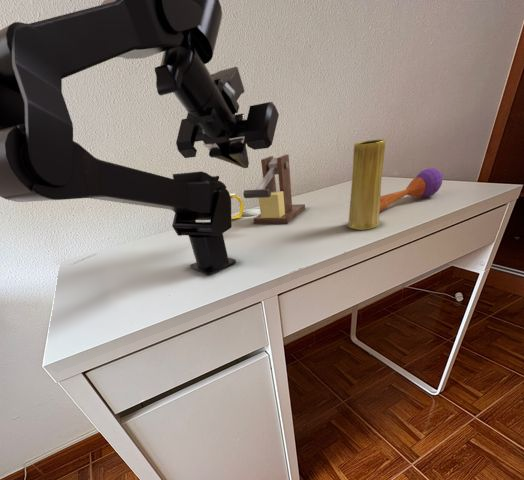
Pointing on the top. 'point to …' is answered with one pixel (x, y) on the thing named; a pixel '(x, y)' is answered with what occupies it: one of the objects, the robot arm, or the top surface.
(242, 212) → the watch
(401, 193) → the maraca
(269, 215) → the butter
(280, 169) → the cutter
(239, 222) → the top surface
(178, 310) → the top surface
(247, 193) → the angled grey lever
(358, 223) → the vase
